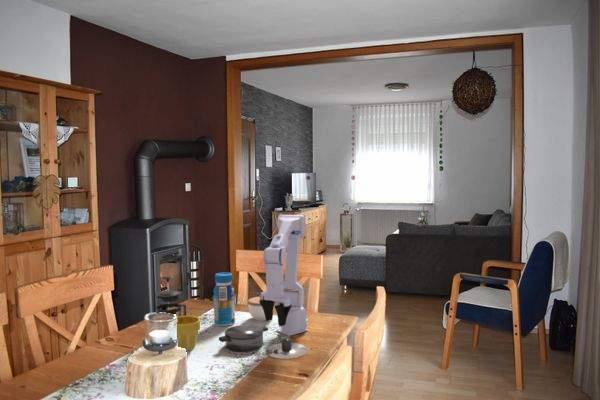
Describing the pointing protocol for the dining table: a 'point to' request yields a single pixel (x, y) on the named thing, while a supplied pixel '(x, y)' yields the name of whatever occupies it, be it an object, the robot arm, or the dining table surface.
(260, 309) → the lidded jar
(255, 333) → the cooking pot
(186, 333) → the plant pot
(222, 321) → the beverage bottle
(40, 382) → the dining table surface
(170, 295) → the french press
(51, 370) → the dining table surface
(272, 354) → the lid
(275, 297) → the robot arm
